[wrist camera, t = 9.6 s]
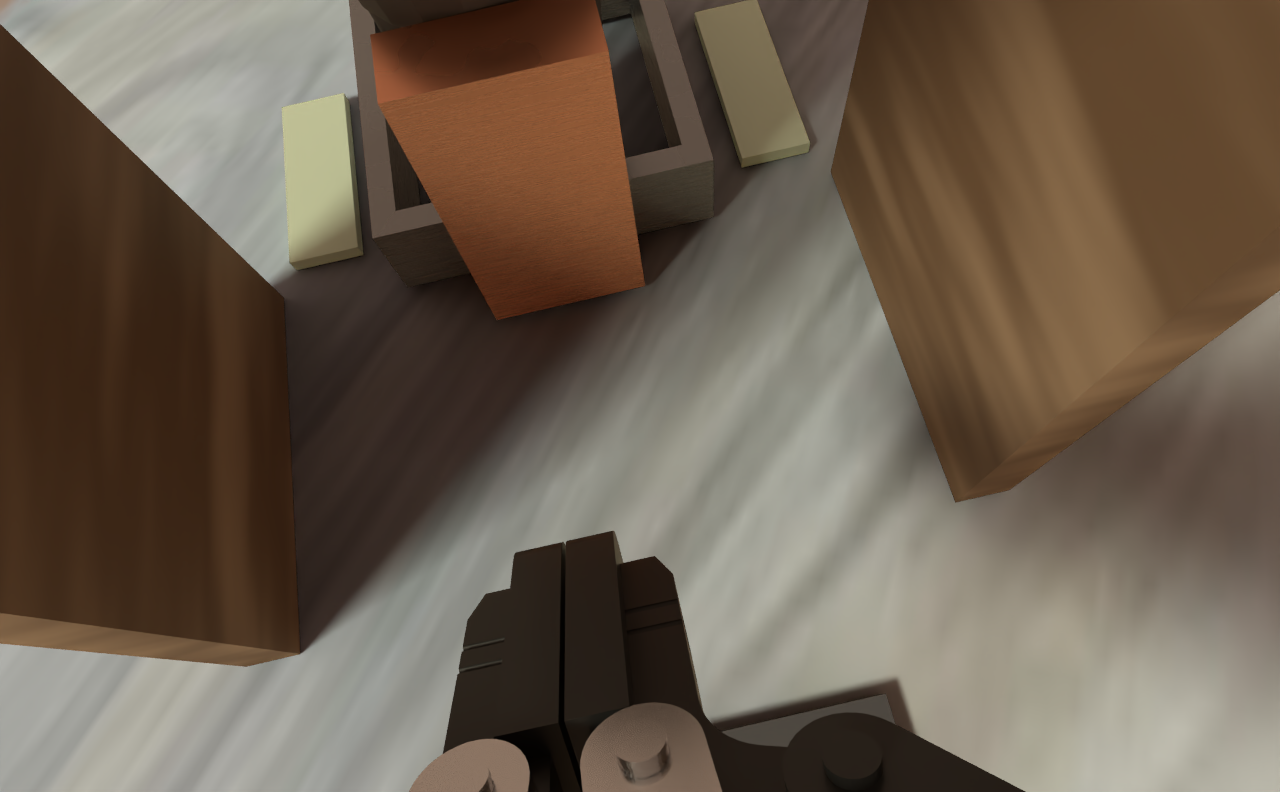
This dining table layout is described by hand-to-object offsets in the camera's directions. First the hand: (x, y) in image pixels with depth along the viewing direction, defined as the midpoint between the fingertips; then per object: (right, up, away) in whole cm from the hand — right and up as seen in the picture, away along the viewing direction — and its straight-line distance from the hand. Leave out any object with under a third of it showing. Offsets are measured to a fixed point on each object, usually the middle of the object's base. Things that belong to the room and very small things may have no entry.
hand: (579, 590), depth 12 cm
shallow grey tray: (-3, +12, +16) cm, 20 cm away
